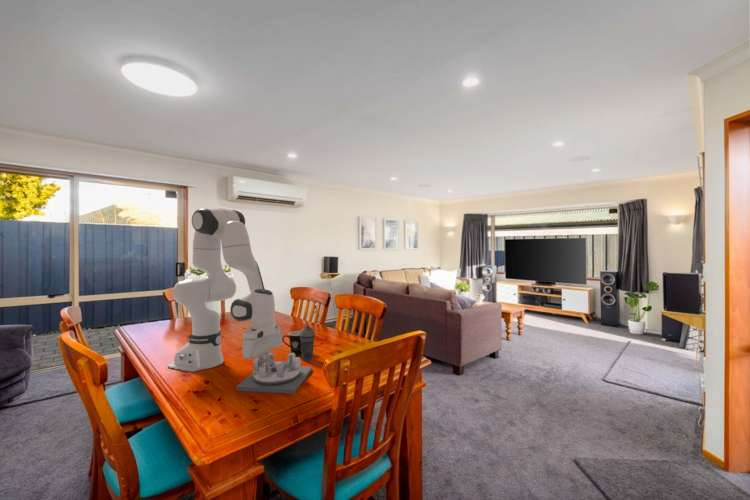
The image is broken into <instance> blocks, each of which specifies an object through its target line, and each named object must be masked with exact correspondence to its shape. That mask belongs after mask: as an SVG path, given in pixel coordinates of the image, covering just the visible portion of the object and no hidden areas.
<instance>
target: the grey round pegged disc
mask: <svg viewBox="0 0 750 500" xmlns="http://www.w3.org/2000/svg"><path fill="white" fill-rule="evenodd" d="M300 366H301V358H300V357H299V356H298V357H296V355H295V354H294V353H291V352H290V353H287V361H285V360H280V361H279V360H278V361H275V353H271V352H270V353H269V356H268V362H266V363H264V364H263V359H262V358H259V357H255V358H253V370H252V373H253V381H254V382H255V383H257V384H261V385H280V384H284V383H288V382H291V381H293V380H295V379H296V378H298V377H299V375H300V369H301V368H300Z"/></svg>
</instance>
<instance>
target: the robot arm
mask: <svg viewBox="0 0 750 500" xmlns="http://www.w3.org/2000/svg"><path fill="white" fill-rule="evenodd" d="M192 214H193V215H192V216H191V225H192V228H193V229H194V230H195V231H194V235H193V241H192V243H193V244H192V265H193V266H194V267H195V268H196V269H197V270H199V271H202V272H204V273H206V277H203V278H188V279H185V280H181V281H177V282H176V283H175V285H174V287H173V289H172V297H173V299H174V301H176V303H178V304H179V305H182V307H183V308H185V309H186V310H187V311H188V314H189V315H190V318H191V329H192V333H190V334H189V335H187V336H186V337H187V338H186V340H188V341H187V342H186V343H185V345H183V346H182V347H180V348H179V349H178V350H177V351H176V352H175V355H174V360H172V361H170V362H169V363H168V366H167V368H168V367H169V368H168V369H172V368H174V370H179V369H180V370H179V371H187V372H197V371H200V370H205V369H211V368H215V367H217V366H220V365H221V364H223V363H224V357H223V353H222V352H223V351H222V348H221V344H222V340H221V339H222V334H221V333H222V332H221V327H220V326H221V325H220V324H221V323H220V322H221V317H220V314H219V313H218V312H217V311H215V310H213V309H210V308H207V306H206V303H213V302H221V301H226V300H228V299H229V300H230V299H232V298H233V297H234V296H235V294H236V292H237V285H236V282H235V280H233V278H232V277H229V275H228V274H227V273H226V272H225V270H224V269H223V266H222V257H221V256H223V260H224V263H225V264H227V266H229V267H230V268H232V269H234V270H237V271H239V272H241V273H242V274H243V275H244V276H245V277H246V281H247V285H248V289H249V291H250V293H249V294H247V295H245V296H241V297H238V298H237V299H234V300H233V301H232V302H231V305H230V314H231V316H232V318H233V319H234V320H236V321H237V322H244V321H251V325H250V327H248V328H247V330H245V331H244V332H243V333H242V338H243V340H242V346H241V348H242V357H243V359H244V360H254V359H256V358H262V359H263V364H266V362H268V356H269V353H271V351H272V350H274V349H277V348H278V347H280V346H282V343H283V340H282V338H283V335H282V330H281V326H280V325H279V324H276V319H275V312H276V308H275V307H276V306H275V305H276V304H275V296H274V294H273V292H272V291H271V290H269V289H266V288H265V285H264V281H263V276H262V274H261V271H260V267H259V264H258V262H257V261H256V258H255V257H254V254H253V252H252V248H251V241H250V236H249V233H248V230H247V227H246V218H245V216H244V214H243V212H241V211H238V210H235V209H226V208H204V207H203V208H199V209H196V210H195V211H194V212H193V213H192ZM221 251H222V252H221ZM221 253H222V255H221Z"/></svg>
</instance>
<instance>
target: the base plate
mask: <svg viewBox="0 0 750 500" xmlns="http://www.w3.org/2000/svg"><path fill="white" fill-rule="evenodd" d="M300 368H301V369H300V375H299V377H298V378H296V379H295V380H293V381H291V382H288V383H284V384H280V385H261V384H257V383H255V382H254V381H253V372H252V373H251V374H250V375H248V376H247V377H246V378H244V380H242V381H241V382H240V383H239V384H238V385H236V387H235V391H237V392H238V391H239V392H251V393H253V392H254V393H271V394H274V393H275V394H287V395H288V394H290V395H291V394H293V395H294V394H295V392H297V391H298V389H299V388H300V386H301V385H302V384H303V383H304V381H306V379H307V377H308V376H309V375H310V374H311V372H312V370H313V367H312V366H304V365H303V366H301V365H300Z"/></svg>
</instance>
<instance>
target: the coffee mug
mask: <svg viewBox="0 0 750 500" xmlns="http://www.w3.org/2000/svg"><path fill="white" fill-rule="evenodd" d="M300 332H301V330H297V331H296V330H295V331H291V332H289V333H288V335H287V334H286V335H282V343H283V344H284V345H286V346H287V347H289V349H290V353H294V354H295V356H302V350H301V341H300ZM285 337H287V338H288V339H289V344H288V343H287V342H286V341H285V339H284V338H285Z"/></svg>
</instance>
